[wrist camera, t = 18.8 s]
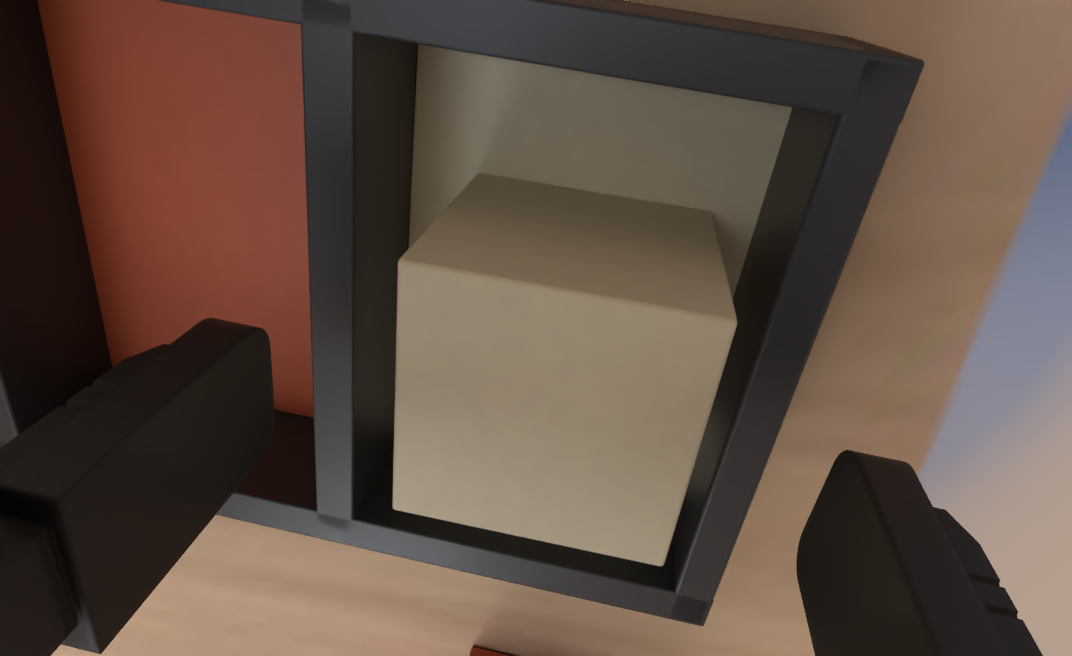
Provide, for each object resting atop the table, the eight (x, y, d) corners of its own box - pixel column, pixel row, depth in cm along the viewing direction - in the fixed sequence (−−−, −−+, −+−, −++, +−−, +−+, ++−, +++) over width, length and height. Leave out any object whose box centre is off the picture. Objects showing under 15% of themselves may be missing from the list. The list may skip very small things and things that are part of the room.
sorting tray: (112, 378, 18) (-5, 464, 15) (14, -97, 13) (-200, -120, 9) (695, 504, 17) (704, 627, 13) (853, 37, 11) (928, 61, 8)
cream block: (461, 369, 15) (390, 511, 11) (477, 171, 13) (396, 258, 9) (662, 408, 15) (663, 568, 11) (713, 211, 12) (739, 321, 8)
